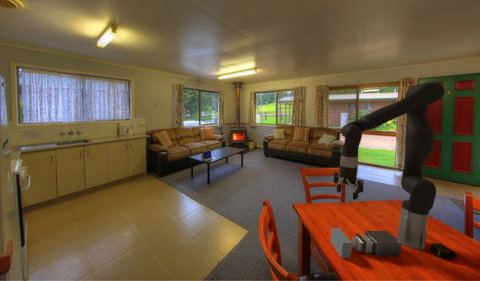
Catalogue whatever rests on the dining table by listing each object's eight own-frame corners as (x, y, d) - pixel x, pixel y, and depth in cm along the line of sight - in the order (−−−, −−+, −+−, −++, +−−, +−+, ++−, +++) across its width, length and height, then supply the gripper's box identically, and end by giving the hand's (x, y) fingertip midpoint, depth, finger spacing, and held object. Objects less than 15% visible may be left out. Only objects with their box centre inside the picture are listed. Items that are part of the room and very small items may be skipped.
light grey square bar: (386, 244, 85) (387, 233, 84) (396, 253, 79) (398, 242, 78) (350, 244, 86) (351, 233, 85) (358, 253, 80) (359, 242, 79)
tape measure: (457, 261, 76) (459, 253, 75) (440, 261, 76) (442, 253, 75) (440, 249, 82) (441, 242, 82) (425, 248, 83) (426, 241, 82)
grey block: (338, 241, 88) (339, 228, 87) (350, 258, 78) (352, 243, 77) (330, 241, 88) (331, 228, 87) (341, 258, 78) (342, 243, 77)
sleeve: (385, 243, 86) (387, 230, 85) (399, 256, 78) (401, 242, 77) (363, 243, 86) (365, 230, 85) (375, 256, 79) (377, 242, 78)
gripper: (330, 162, 93) (329, 191, 95) (358, 170, 80) (355, 203, 82) (341, 160, 96) (339, 188, 98) (368, 167, 83) (365, 200, 85)
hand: (346, 195), depth 90 cm, fingers open, 8 cm apart
